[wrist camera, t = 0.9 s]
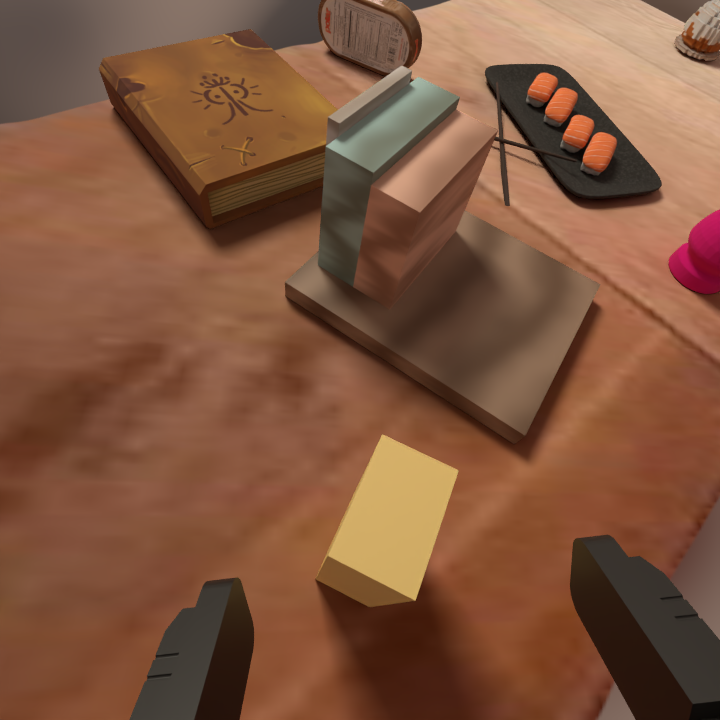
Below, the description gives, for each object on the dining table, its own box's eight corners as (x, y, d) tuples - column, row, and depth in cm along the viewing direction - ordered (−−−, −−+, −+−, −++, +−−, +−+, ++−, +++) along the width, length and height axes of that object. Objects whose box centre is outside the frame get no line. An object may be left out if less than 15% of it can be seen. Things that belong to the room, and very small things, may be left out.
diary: (114, 112, 52) (95, 59, 47) (254, 77, 60) (250, 28, 55) (208, 233, 44) (197, 185, 39) (355, 176, 52) (362, 130, 47)
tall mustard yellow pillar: (315, 578, 30) (327, 555, 18) (352, 497, 33) (382, 434, 21) (369, 607, 29) (415, 600, 18) (401, 521, 32) (458, 470, 21)
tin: (414, 79, 64) (430, 10, 56) (406, 88, 62) (420, 18, 55) (324, 41, 66) (327, -30, 58) (313, 50, 64) (315, -23, 57)
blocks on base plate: (285, 296, 41) (281, 149, 28) (396, 190, 51) (431, 44, 38) (514, 444, 36) (634, 349, 24) (589, 296, 46) (703, 172, 33)
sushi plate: (661, 201, 57) (683, 175, 54) (452, 225, 50) (463, 197, 47) (555, 76, 70) (567, 49, 67) (377, 80, 63) (381, 51, 60)
